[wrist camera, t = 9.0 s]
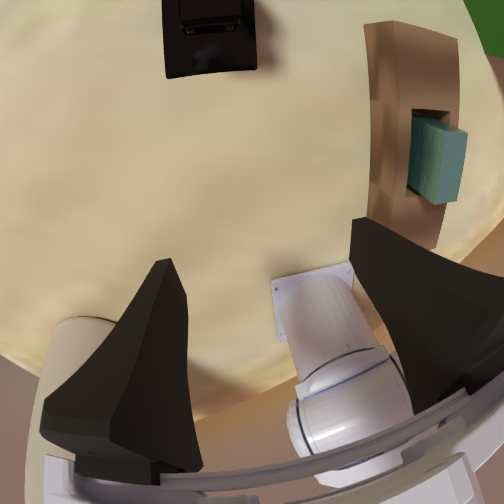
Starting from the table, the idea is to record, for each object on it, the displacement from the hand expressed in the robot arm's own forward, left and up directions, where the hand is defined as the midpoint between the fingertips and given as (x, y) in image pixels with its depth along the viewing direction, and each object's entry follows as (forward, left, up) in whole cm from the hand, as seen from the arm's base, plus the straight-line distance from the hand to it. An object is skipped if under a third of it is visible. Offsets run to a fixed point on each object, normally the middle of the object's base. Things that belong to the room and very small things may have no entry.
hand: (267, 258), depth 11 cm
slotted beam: (+1, -13, -9) cm, 16 cm away
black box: (+12, 0, -10) cm, 16 cm away
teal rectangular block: (+1, -13, -10) cm, 16 cm away
